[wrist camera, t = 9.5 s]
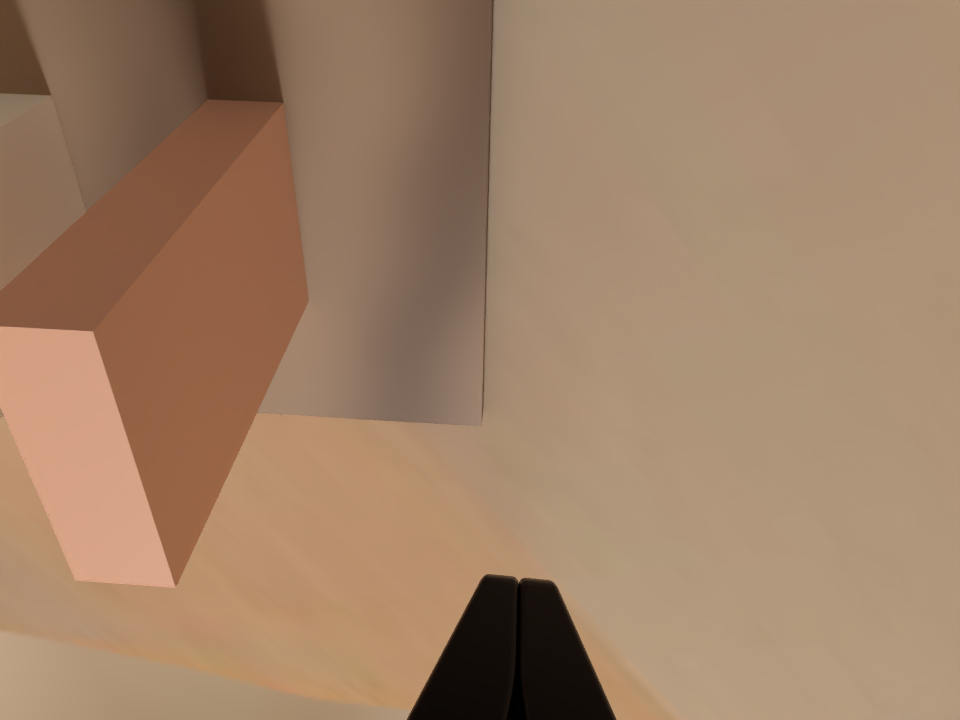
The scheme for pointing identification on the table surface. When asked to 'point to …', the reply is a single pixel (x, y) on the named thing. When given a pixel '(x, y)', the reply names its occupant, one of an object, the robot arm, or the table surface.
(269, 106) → the terracotta domino
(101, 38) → the walnut board
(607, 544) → the table surface
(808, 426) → the table surface
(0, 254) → the domino
